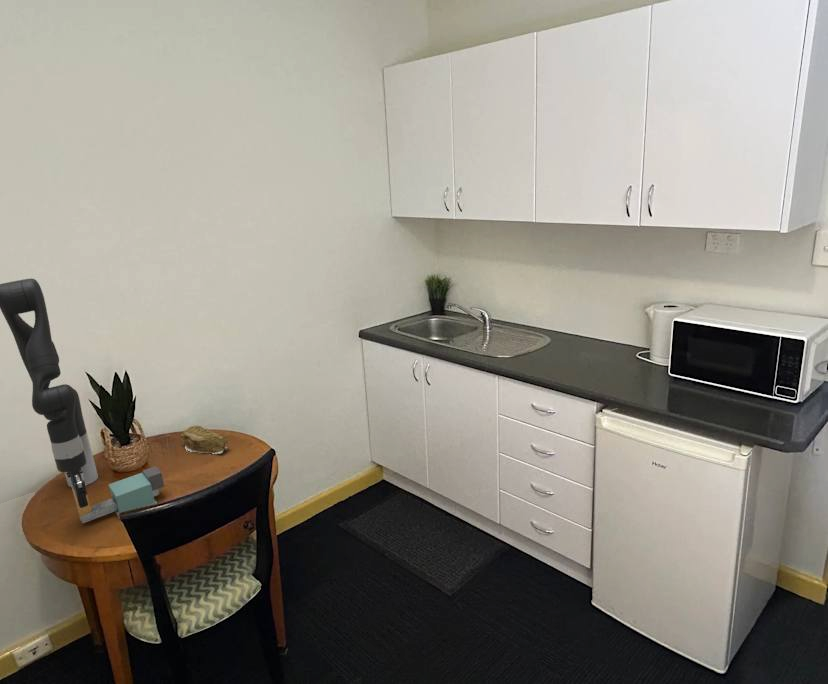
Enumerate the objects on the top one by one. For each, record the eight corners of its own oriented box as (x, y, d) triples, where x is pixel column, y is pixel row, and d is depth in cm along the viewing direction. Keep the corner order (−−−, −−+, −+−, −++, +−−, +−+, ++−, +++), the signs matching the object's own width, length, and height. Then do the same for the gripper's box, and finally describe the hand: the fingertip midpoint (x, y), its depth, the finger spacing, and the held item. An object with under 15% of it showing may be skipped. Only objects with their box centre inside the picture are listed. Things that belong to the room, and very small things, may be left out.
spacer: (145, 484, 187) (142, 470, 185) (158, 479, 189) (155, 466, 188) (151, 491, 182) (148, 477, 181) (164, 486, 185) (161, 472, 183)
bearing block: (111, 505, 184) (106, 484, 181) (147, 491, 190) (143, 471, 188) (120, 519, 175) (114, 498, 173) (157, 505, 182) (153, 484, 180)
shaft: (80, 517, 175) (70, 484, 172) (155, 489, 188) (148, 457, 185) (82, 523, 172) (73, 489, 169) (159, 494, 185) (152, 462, 182)
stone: (237, 447, 217) (234, 431, 215) (216, 459, 209) (213, 443, 207) (197, 437, 228) (194, 422, 226) (176, 448, 219) (172, 432, 217)
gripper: (49, 448, 171) (64, 499, 176) (58, 465, 160) (73, 519, 165) (78, 440, 175) (91, 490, 180) (88, 455, 165) (102, 508, 170)
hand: (82, 503), depth 173 cm, fingers closed on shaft, 3 cm apart
